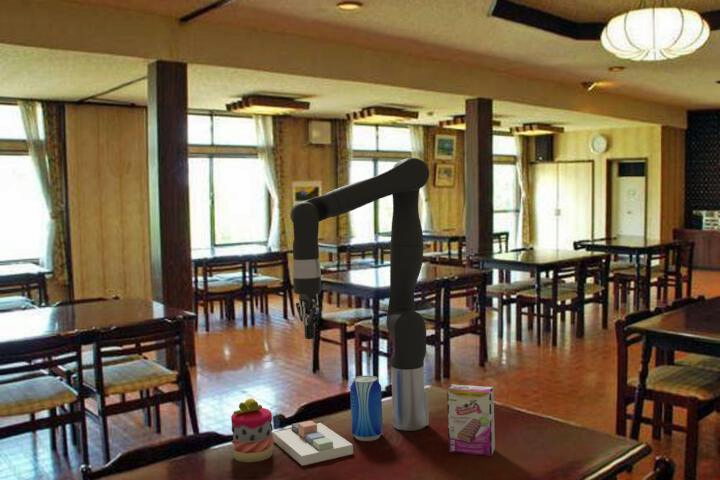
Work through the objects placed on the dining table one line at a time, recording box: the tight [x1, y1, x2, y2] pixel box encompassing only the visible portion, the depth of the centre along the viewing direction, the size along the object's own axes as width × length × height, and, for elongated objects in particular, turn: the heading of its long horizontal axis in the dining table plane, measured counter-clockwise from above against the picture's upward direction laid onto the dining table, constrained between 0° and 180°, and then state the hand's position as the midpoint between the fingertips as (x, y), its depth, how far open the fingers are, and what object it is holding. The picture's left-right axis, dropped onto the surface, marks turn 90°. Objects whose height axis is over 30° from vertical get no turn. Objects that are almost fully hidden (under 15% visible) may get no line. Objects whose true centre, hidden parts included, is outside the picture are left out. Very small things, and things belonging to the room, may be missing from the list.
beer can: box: [349, 375, 384, 442], centre depth 184 cm, size 8×8×16 cm
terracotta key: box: [297, 420, 317, 440], centre depth 180 cm, size 4×4×4 cm
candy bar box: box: [446, 384, 496, 457], centre depth 170 cm, size 11×5×16 cm, turn 71°
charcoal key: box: [291, 421, 301, 434], centre depth 184 cm, size 4×4×4 cm
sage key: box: [313, 437, 333, 451], centre depth 171 cm, size 4×4×4 cm
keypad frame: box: [272, 422, 354, 466], centre depth 178 cm, size 14×20×2 cm
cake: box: [230, 398, 275, 463], centre depth 174 cm, size 10×10×15 cm
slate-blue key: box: [305, 432, 325, 445], centre depth 176 cm, size 4×4×4 cm
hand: (309, 338), depth 185 cm, fingers closed
